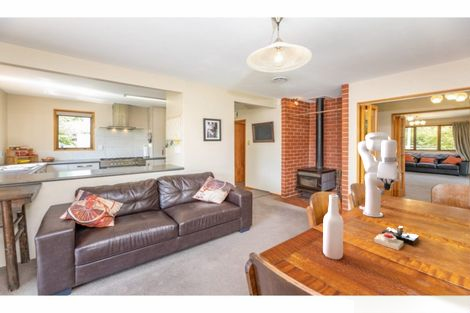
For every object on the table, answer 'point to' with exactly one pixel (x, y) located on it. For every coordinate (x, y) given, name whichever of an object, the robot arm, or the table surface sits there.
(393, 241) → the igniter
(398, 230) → the hob knob
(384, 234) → the button
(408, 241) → the panel
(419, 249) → the table surface
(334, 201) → the alcohol
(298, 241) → the table surface
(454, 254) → the table surface
